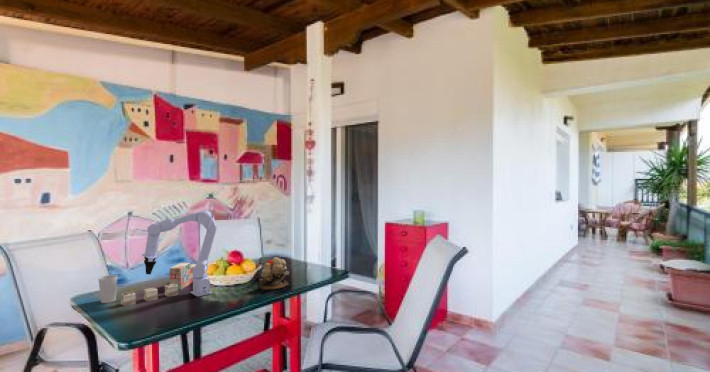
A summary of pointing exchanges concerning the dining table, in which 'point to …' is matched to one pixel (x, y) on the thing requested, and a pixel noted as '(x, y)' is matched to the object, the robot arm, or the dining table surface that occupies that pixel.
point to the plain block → (150, 294)
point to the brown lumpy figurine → (274, 275)
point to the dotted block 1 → (128, 298)
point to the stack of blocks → (182, 274)
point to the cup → (108, 288)
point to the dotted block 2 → (171, 290)
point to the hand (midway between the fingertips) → (148, 272)
